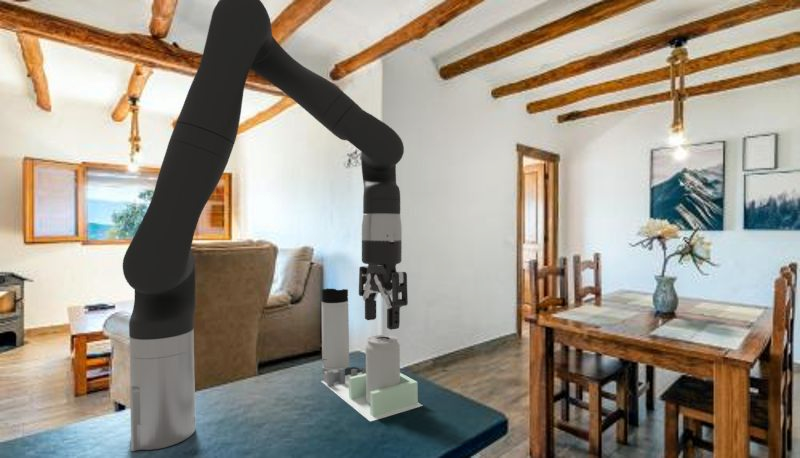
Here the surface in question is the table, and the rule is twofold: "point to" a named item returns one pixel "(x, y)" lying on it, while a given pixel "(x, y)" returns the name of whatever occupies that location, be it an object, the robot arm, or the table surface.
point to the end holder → (385, 394)
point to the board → (341, 388)
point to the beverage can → (382, 363)
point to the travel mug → (335, 329)
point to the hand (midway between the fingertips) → (381, 323)
